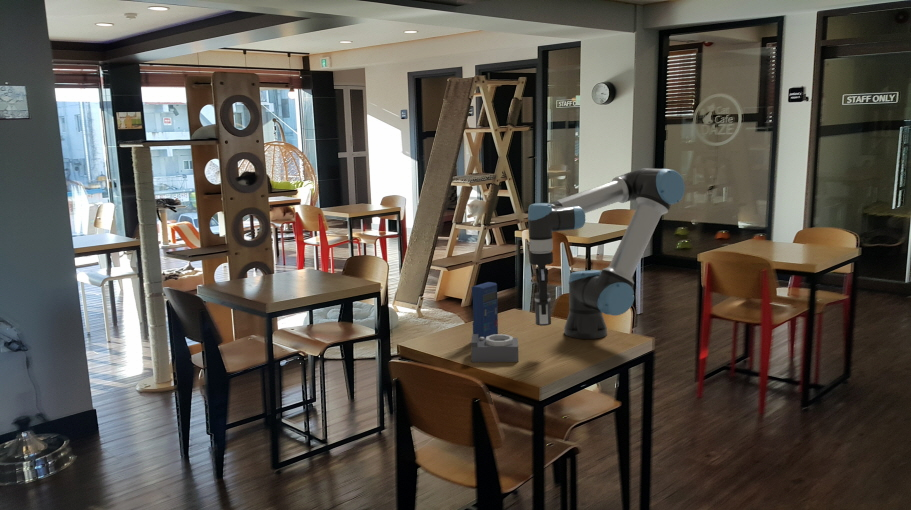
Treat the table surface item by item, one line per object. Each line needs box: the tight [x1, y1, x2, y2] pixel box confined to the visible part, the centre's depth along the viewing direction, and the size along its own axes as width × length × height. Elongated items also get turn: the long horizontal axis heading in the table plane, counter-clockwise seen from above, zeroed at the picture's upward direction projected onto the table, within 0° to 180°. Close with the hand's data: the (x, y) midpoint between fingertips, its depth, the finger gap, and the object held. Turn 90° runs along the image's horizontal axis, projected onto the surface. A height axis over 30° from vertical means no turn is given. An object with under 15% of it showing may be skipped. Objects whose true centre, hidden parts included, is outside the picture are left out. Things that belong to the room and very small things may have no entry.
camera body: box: [470, 333, 519, 363], centre depth 231 cm, size 15×10×6 cm, turn 86°
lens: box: [534, 292, 552, 327], centre depth 231 cm, size 5×5×10 cm
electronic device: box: [471, 281, 499, 338], centre depth 251 cm, size 10×5×20 cm, turn 141°
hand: (543, 321), depth 232 cm, fingers closed on lens, 5 cm apart
